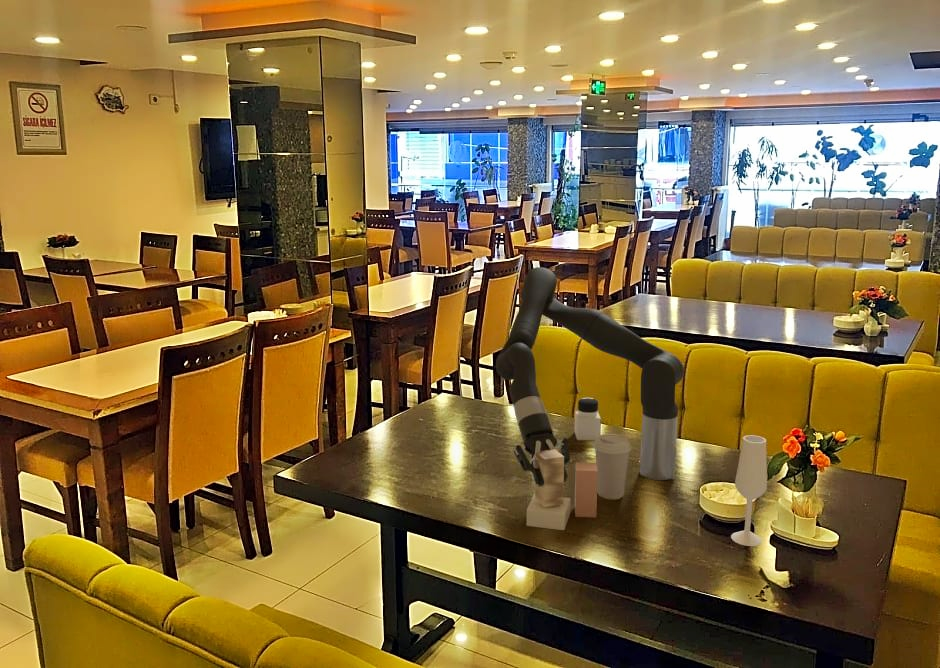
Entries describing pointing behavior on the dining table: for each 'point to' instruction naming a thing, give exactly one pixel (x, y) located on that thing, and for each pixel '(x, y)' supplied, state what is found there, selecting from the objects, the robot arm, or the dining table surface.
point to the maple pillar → (550, 478)
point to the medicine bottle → (587, 420)
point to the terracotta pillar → (586, 489)
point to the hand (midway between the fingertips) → (552, 483)
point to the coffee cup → (611, 464)
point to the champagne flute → (751, 482)
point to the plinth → (548, 514)
